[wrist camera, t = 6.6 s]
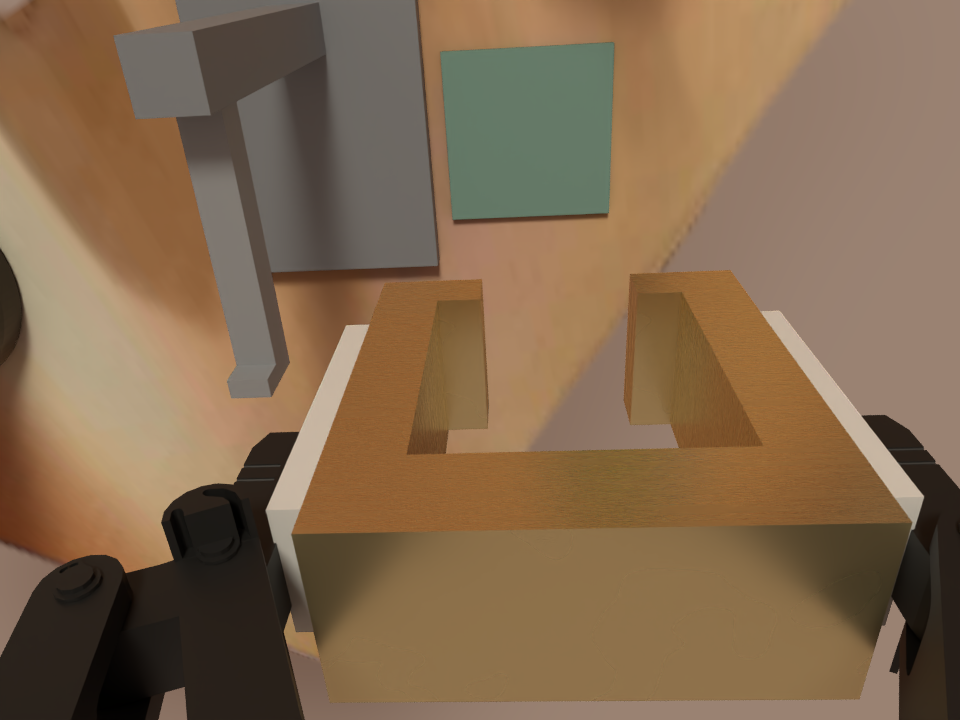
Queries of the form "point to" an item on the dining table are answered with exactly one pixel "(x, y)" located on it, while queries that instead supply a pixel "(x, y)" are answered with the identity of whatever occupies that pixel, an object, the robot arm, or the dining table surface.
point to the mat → (529, 130)
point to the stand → (293, 147)
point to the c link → (595, 521)
